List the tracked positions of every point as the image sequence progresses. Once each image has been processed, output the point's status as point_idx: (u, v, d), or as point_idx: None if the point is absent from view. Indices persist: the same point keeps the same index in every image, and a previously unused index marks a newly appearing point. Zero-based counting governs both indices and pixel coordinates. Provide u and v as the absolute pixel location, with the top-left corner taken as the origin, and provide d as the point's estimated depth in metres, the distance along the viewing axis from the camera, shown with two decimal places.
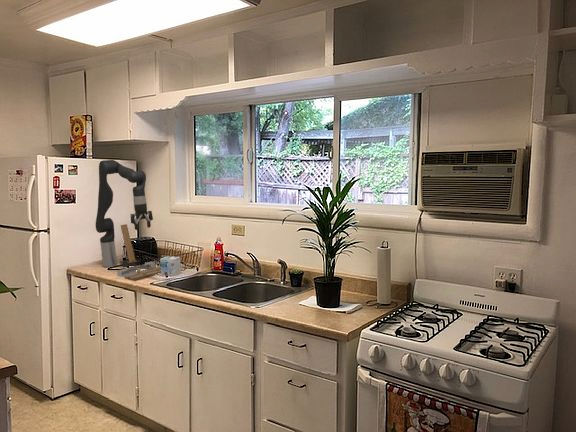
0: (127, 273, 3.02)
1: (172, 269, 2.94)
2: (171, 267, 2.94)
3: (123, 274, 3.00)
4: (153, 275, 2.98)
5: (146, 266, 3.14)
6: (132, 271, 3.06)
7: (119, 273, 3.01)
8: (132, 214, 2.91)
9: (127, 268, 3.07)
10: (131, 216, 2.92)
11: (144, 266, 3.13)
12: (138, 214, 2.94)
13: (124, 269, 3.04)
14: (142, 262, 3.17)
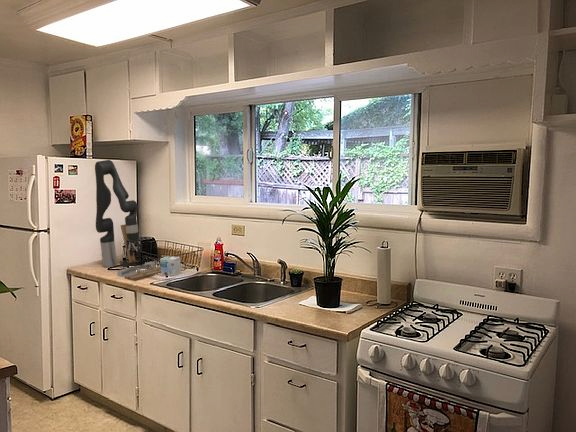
0: (127, 273, 3.02)
1: (172, 269, 2.94)
2: (171, 267, 2.94)
3: (123, 274, 3.00)
4: (153, 275, 2.98)
5: (146, 266, 3.14)
6: (132, 271, 3.06)
7: (119, 273, 3.01)
8: (140, 241, 3.04)
9: (127, 268, 3.07)
10: (139, 243, 3.03)
11: (144, 266, 3.13)
12: None
13: (124, 269, 3.04)
14: (142, 262, 3.17)
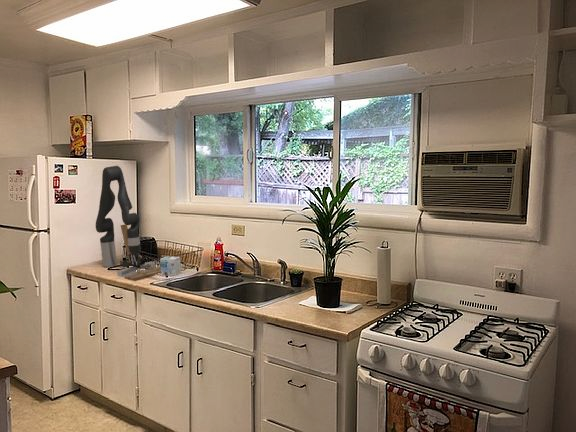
0: (127, 273, 3.02)
1: (172, 269, 2.94)
2: (171, 267, 2.94)
3: (123, 274, 3.00)
4: (153, 275, 2.98)
5: (146, 266, 3.14)
6: (132, 271, 3.06)
7: (119, 273, 3.01)
8: (142, 256, 3.05)
9: (127, 268, 3.07)
10: (140, 258, 3.05)
11: (144, 266, 3.13)
12: None
13: (124, 269, 3.04)
14: (142, 262, 3.17)
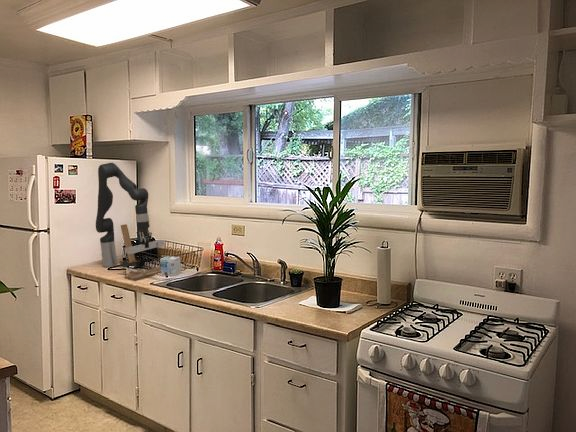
0: (135, 250, 2.92)
1: (172, 269, 2.94)
2: (171, 267, 2.94)
3: (131, 251, 2.89)
4: (153, 275, 2.98)
5: (155, 244, 3.03)
6: (141, 248, 2.95)
7: (127, 250, 2.90)
8: (151, 233, 2.95)
9: None
10: (149, 235, 2.94)
11: (153, 244, 3.02)
12: None
13: (132, 246, 2.94)
14: (142, 262, 3.17)
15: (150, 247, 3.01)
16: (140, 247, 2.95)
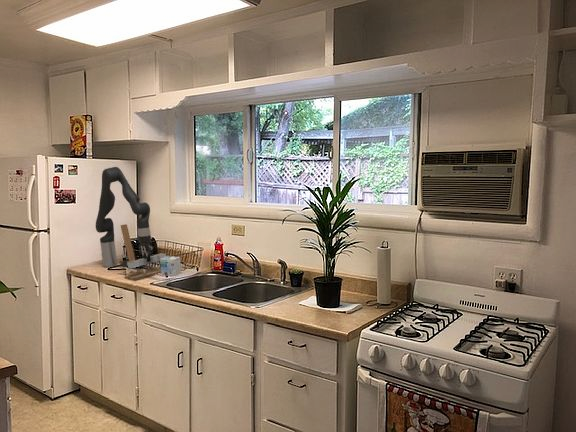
0: (137, 264, 2.93)
1: (172, 269, 2.94)
2: (171, 267, 2.94)
3: (133, 265, 2.91)
4: (153, 275, 2.98)
5: (156, 257, 3.05)
6: (142, 262, 2.97)
7: (129, 264, 2.92)
8: (152, 247, 2.96)
9: None
10: (151, 249, 2.96)
11: (154, 257, 3.03)
12: None
13: (134, 260, 2.95)
14: None
15: (152, 261, 3.02)
16: (142, 261, 2.96)
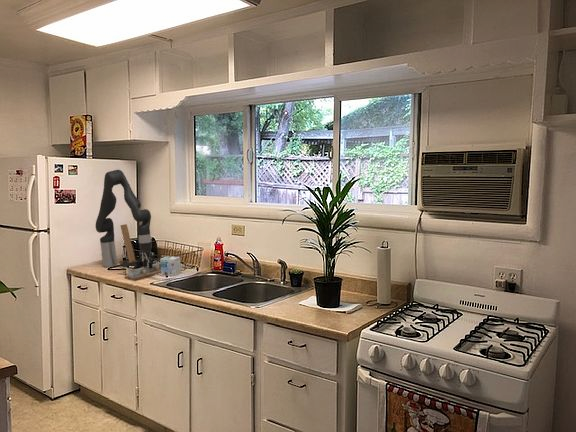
0: (138, 273, 2.94)
1: (172, 269, 2.94)
2: (171, 267, 2.94)
3: (134, 274, 2.92)
4: (153, 275, 2.98)
5: None
6: None
7: (130, 273, 2.93)
8: (153, 253, 2.97)
9: None
10: (152, 255, 2.96)
11: (155, 266, 3.04)
12: None
13: (135, 269, 2.96)
14: (142, 262, 3.17)
15: (153, 269, 3.03)
16: None
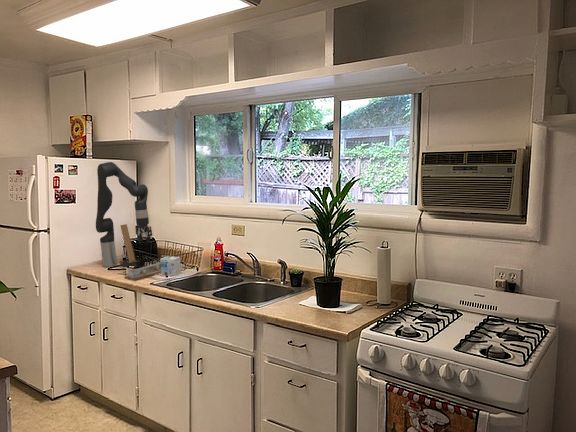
0: (138, 273, 2.94)
1: (172, 269, 2.94)
2: (171, 267, 2.94)
3: (134, 274, 2.92)
4: (153, 275, 2.98)
5: None
6: None
7: (130, 273, 2.93)
8: (150, 226, 2.94)
9: None
10: (149, 229, 2.93)
11: (155, 266, 3.04)
12: None
13: (135, 269, 2.96)
14: (142, 262, 3.17)
15: (153, 269, 3.03)
16: None
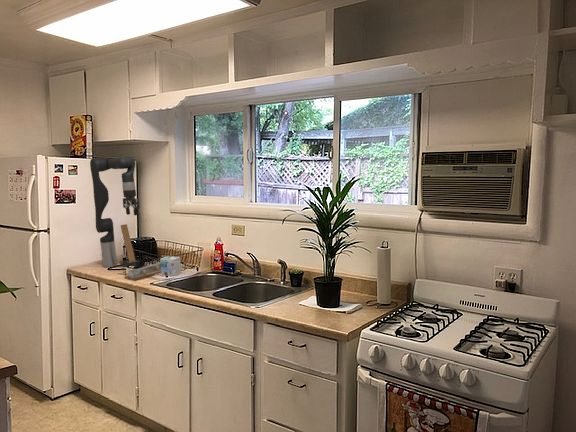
0: (138, 273, 2.94)
1: (172, 269, 2.94)
2: (171, 267, 2.94)
3: (134, 274, 2.92)
4: (153, 275, 2.98)
5: None
6: None
7: (130, 273, 2.93)
8: None
9: None
10: (136, 201, 2.94)
11: (155, 266, 3.04)
12: None
13: (135, 269, 2.96)
14: (142, 262, 3.17)
15: (153, 269, 3.03)
16: None
